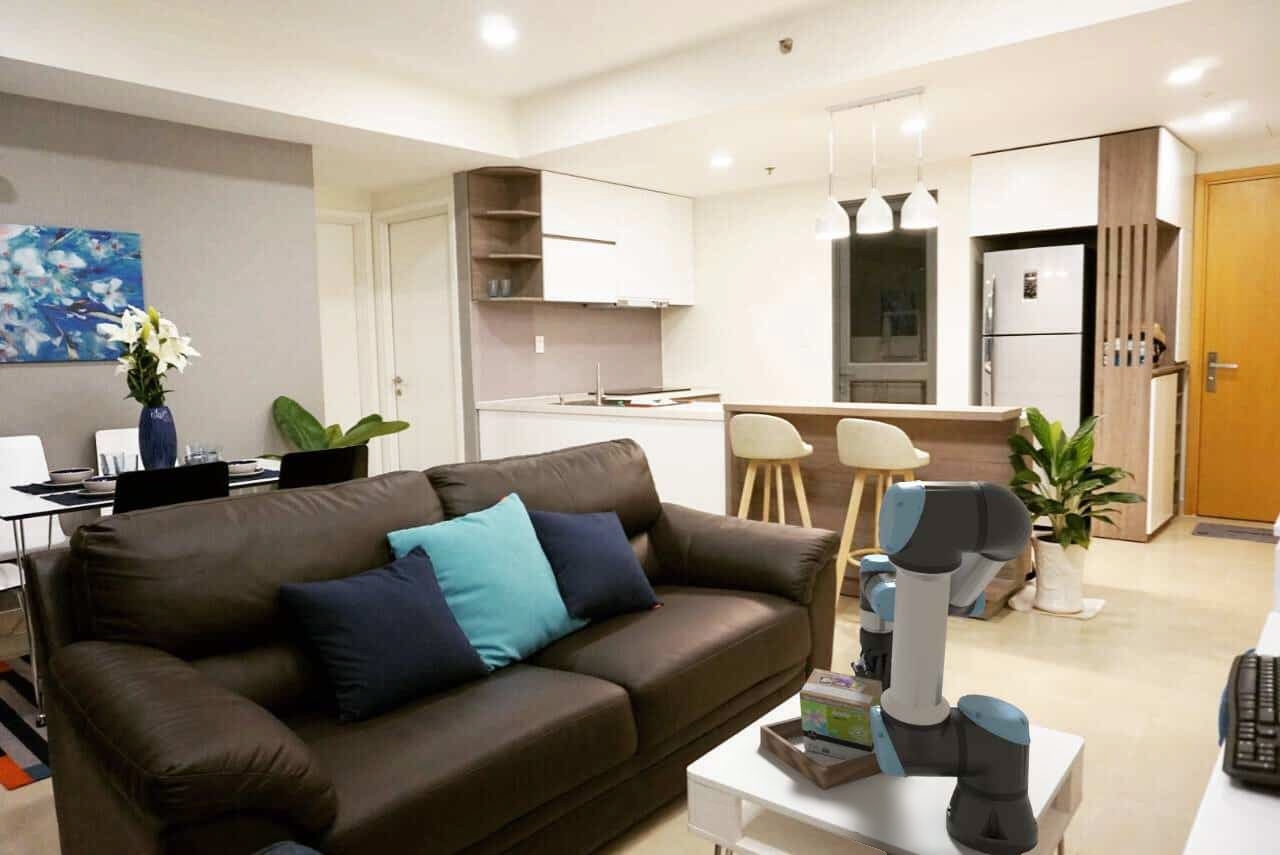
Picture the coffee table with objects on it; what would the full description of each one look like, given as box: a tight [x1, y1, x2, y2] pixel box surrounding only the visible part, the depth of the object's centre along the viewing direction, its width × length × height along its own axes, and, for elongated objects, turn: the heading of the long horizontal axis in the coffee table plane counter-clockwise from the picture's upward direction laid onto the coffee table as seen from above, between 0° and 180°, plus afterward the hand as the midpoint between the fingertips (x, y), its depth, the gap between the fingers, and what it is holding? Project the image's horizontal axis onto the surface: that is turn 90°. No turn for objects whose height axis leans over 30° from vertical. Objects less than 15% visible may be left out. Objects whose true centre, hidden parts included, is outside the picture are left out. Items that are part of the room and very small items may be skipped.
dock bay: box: [759, 715, 884, 791], centre depth 182 cm, size 22×22×4 cm
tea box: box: [799, 668, 882, 761], centre depth 182 cm, size 15×10×15 cm
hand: (876, 732), depth 187 cm, fingers closed
